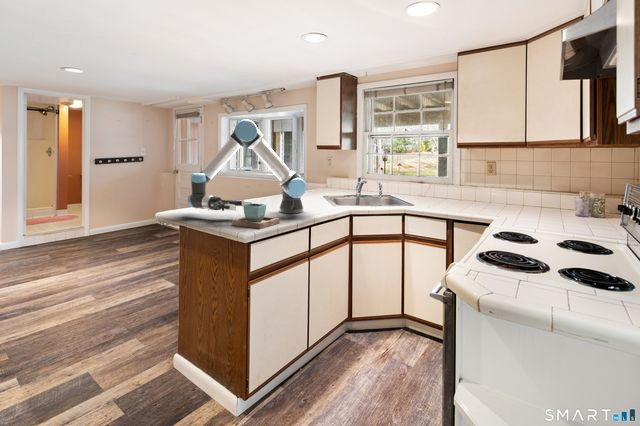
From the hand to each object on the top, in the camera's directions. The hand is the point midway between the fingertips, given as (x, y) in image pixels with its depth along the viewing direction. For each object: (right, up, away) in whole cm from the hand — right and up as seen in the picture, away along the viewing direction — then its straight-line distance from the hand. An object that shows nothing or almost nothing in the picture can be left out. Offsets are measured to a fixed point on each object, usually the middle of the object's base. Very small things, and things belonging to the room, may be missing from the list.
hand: (244, 206), depth 183 cm
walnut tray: (+7, -9, -2) cm, 11 cm away
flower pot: (+6, -8, -2) cm, 11 cm away
